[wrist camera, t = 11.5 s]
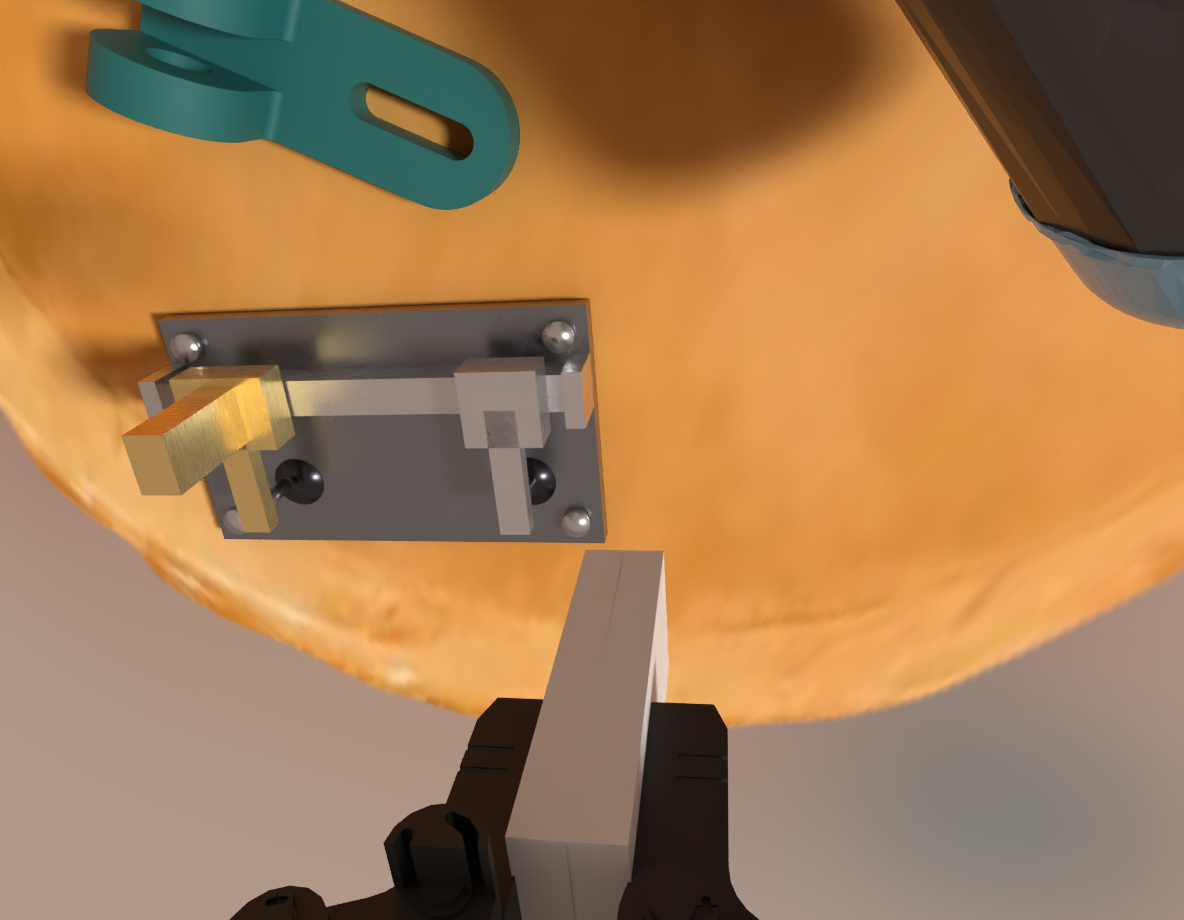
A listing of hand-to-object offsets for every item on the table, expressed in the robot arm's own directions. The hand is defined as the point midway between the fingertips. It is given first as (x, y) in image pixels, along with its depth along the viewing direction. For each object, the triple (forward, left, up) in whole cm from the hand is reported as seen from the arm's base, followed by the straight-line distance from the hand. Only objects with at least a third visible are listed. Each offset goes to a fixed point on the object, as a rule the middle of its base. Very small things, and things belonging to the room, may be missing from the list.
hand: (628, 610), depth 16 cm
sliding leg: (+8, -24, -27) cm, 37 cm away
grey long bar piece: (+7, -17, -27) cm, 33 cm away
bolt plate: (+8, -17, -28) cm, 34 cm away
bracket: (-10, -16, -29) cm, 35 cm away
